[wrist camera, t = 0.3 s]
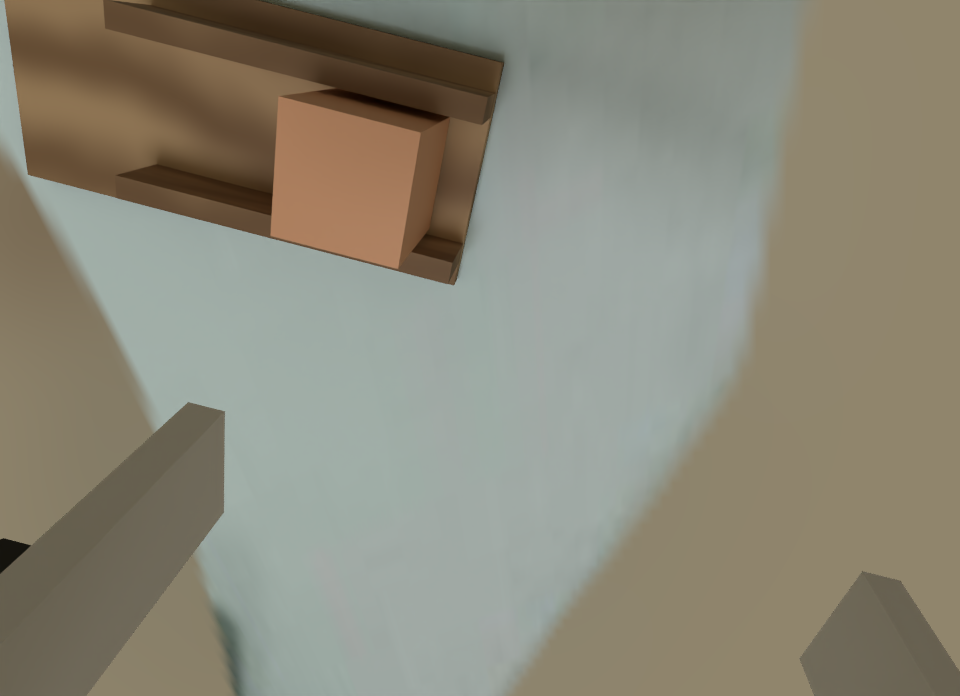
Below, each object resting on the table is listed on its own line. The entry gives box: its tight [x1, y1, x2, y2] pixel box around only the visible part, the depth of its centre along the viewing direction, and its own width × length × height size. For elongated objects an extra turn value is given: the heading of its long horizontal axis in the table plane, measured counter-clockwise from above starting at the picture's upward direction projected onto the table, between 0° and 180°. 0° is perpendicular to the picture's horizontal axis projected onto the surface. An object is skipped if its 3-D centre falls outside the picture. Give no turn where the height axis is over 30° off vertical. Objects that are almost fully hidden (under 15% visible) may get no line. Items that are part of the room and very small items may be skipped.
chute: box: [4, 0, 504, 285], centre depth 31 cm, size 12×26×4 cm, turn 77°
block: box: [270, 88, 450, 269], centre depth 28 cm, size 6×6×7 cm
